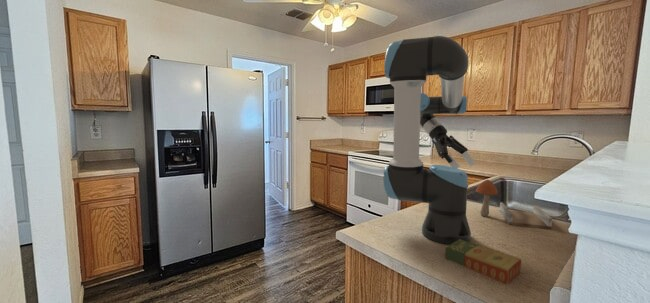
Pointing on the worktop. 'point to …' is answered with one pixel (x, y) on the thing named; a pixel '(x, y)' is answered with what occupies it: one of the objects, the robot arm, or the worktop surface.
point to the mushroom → (486, 195)
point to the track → (526, 217)
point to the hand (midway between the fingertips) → (465, 166)
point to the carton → (484, 260)
